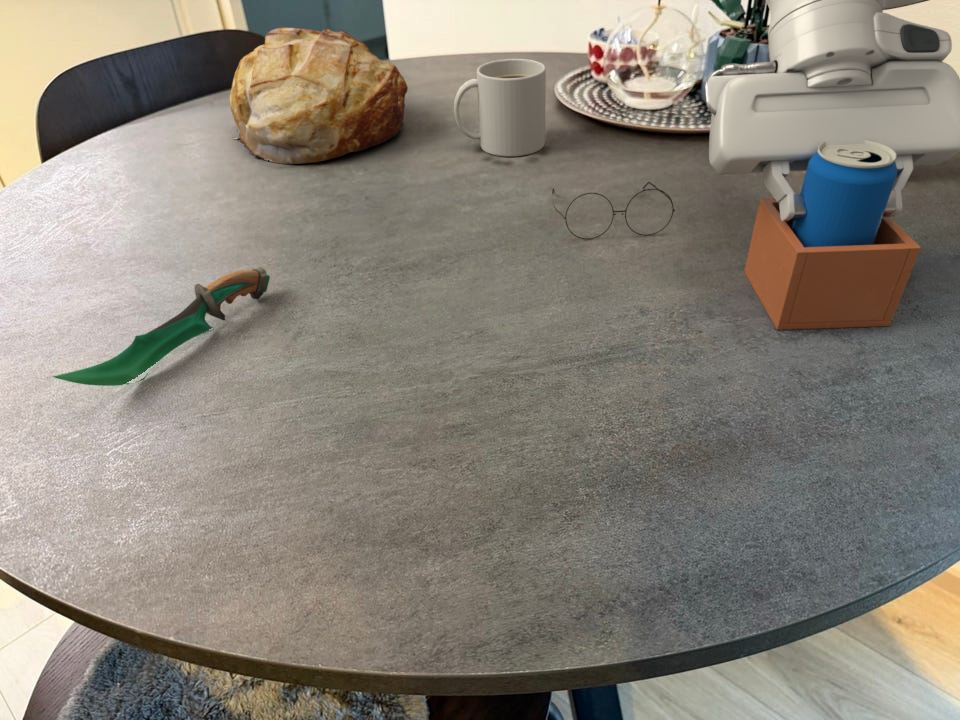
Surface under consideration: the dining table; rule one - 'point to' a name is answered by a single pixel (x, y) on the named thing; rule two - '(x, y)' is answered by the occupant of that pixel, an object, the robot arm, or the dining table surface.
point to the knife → (173, 330)
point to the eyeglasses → (618, 211)
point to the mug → (508, 107)
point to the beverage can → (845, 194)
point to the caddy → (827, 275)
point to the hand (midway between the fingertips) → (841, 217)
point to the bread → (315, 97)
